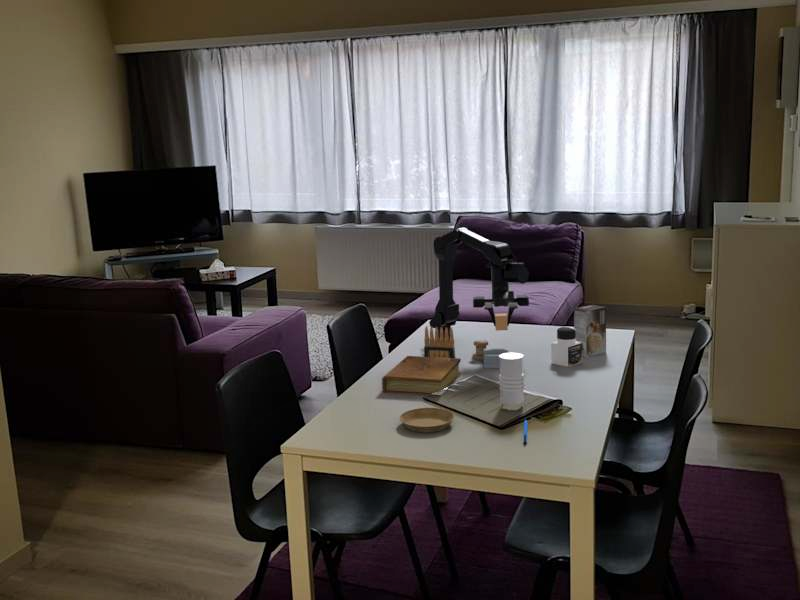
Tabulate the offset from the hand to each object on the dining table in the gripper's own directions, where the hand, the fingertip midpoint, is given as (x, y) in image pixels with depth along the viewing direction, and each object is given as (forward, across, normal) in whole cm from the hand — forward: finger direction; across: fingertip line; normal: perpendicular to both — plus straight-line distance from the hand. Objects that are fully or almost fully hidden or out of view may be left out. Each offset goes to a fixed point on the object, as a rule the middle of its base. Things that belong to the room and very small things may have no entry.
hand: (501, 326), depth 291 cm
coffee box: (+11, +30, +2) cm, 32 cm away
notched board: (+10, -2, -10) cm, 15 cm away
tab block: (+1, 0, 0) cm, 1 cm away
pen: (+12, +4, -74) cm, 75 cm away
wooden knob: (+10, -7, -2) cm, 13 cm away
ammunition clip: (+10, -21, -5) cm, 24 cm away
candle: (+11, +1, -54) cm, 55 cm away
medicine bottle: (+11, +21, -10) cm, 26 cm away
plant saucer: (+11, -22, -68) cm, 72 cm away
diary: (+11, -25, -30) cm, 41 cm away
